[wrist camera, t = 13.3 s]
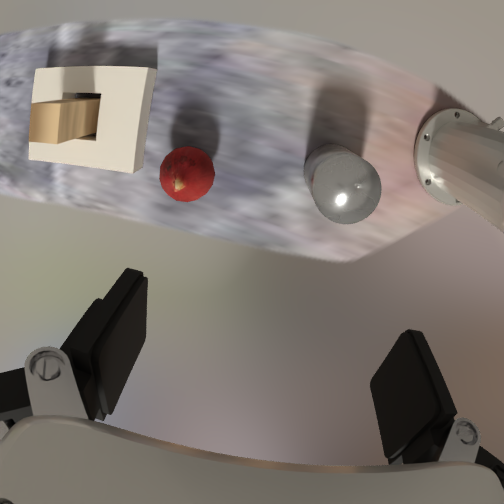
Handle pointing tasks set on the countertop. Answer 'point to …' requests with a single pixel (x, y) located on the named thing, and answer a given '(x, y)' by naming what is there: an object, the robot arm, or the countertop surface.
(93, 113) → the square peg
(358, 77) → the countertop surface
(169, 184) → the onion
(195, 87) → the countertop surface
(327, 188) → the round peg
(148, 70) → the socket block
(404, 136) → the countertop surface
